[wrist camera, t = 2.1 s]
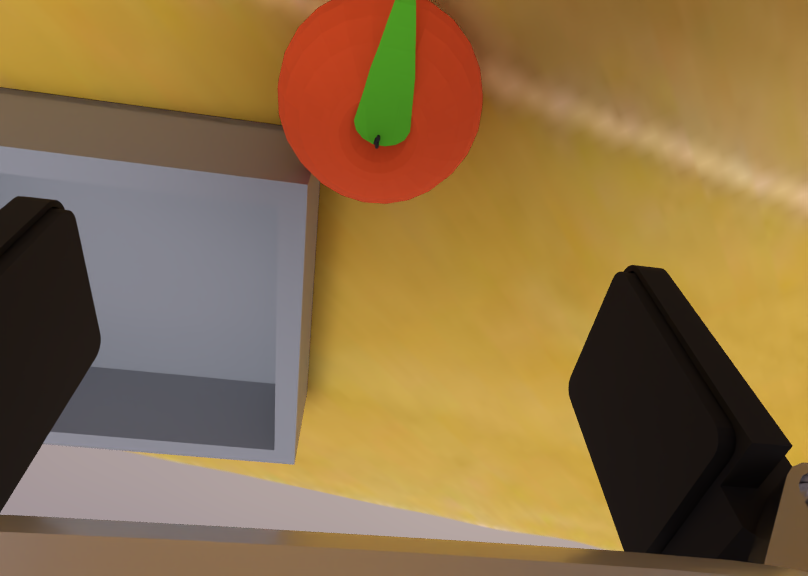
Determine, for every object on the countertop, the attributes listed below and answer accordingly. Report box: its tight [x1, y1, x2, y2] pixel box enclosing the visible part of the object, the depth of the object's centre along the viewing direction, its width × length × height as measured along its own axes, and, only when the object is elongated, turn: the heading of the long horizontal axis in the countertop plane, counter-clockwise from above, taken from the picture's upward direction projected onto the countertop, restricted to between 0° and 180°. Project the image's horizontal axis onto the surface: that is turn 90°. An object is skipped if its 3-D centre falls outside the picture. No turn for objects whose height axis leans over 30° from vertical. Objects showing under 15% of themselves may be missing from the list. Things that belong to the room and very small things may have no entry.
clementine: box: [278, 0, 483, 204], centre depth 19 cm, size 8×7×7 cm
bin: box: [0, 87, 320, 464], centre depth 25 cm, size 16×16×5 cm
